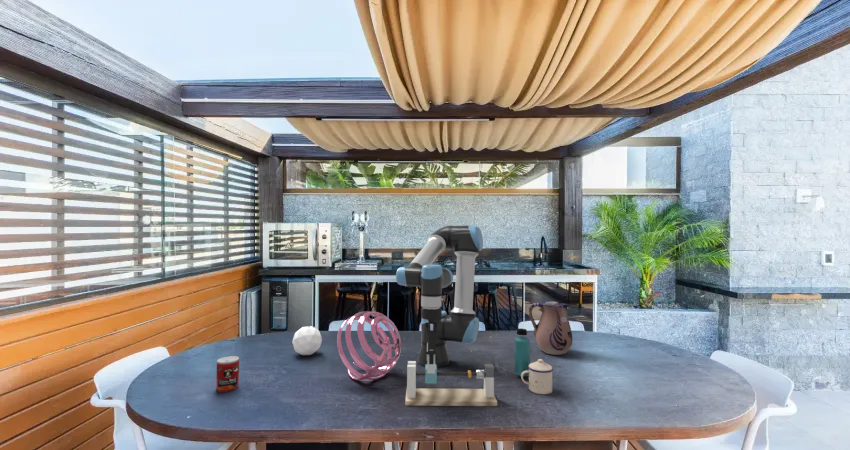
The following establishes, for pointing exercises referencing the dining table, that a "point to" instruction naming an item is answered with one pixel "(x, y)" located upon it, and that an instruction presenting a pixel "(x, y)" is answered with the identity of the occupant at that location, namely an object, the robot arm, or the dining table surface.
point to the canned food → (227, 373)
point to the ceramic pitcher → (552, 328)
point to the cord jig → (451, 390)
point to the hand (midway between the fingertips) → (430, 366)
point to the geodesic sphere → (307, 340)
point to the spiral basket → (384, 345)
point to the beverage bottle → (522, 353)
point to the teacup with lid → (539, 377)
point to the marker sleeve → (430, 375)
